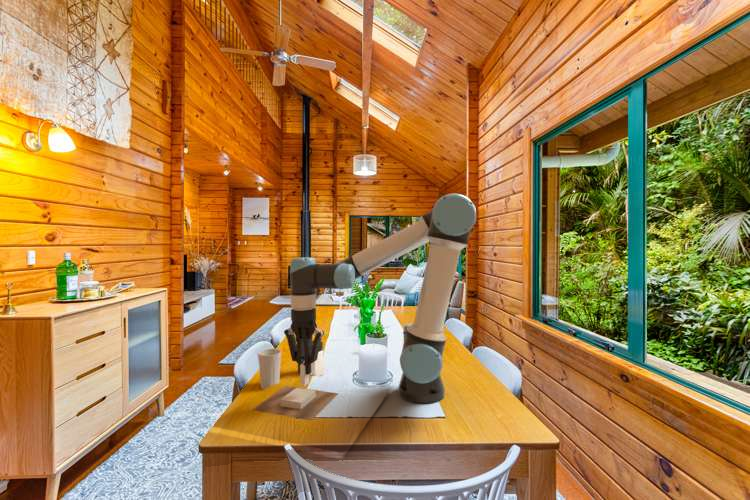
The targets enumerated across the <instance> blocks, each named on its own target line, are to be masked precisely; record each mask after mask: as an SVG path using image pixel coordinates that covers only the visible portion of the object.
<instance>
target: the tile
mask: <svg viewBox="0 0 750 500" xmlns="http://www.w3.org/2000/svg"><path fill="white" fill-rule="evenodd" d="M316 390H317V389H311V390H309V388H304V389H302V387H297V388H295V389H294V390H293V391H291V392H290V393H289V394H287V395H286V396H284V397H283V398H282V399H280V405H281V406H283V407H289V408H295V409H302V408H303V407H304V406H305V405H307V404H308V403H309V402H310V401H311V400H312V399H314V398H315V397H316Z"/></svg>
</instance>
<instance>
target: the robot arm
mask: <svg viewBox="0 0 750 500" xmlns="http://www.w3.org/2000/svg"><path fill="white" fill-rule="evenodd" d="M476 210H477V209H476V206H475V205H474V202H472V201H471V199H470V198H469V197H467V196H466V195H463V194H461V193H449V194H448V193H447V194H445V195H443V196H441V197H439V198H438V200H437V201H436V202H435V203H434V205H433V207H432V209H431V210H430V211H428V212H427V213H425V214H422V215H421V216H420V218H419V220H418V221H416V222H414V223H412V224H410V225H409V226H406V227H405V228H403V229H401V230H399V231H397V232H395V233H393V234H392V235H389V236H387V237H385V238H383V239H382V240H380V241H378V242H376V243H374V244H372V245H370V246H368V247H366V248H365V249H363V250H360V251H359V252H357V253H355V254H353V255H352V256H350V257H347V258H346V259H344V260H342V261H340V262H336V263H321V264H320V263H316V259H315V258H314V257H307V256H306V257H293V258H292V259H291V260H290V266H289V267H290V270H289V274H290V277H289V278H290V279H289V280H290V308H291V310H290V318H291V319H290V320H291V324H290V327H289V328H287V329H285V330H283V334H284V335H285V337H286V339H287V344H288V347H289V353H290V358H291V361H293V362H296V363H297V372H298V374H299V375H300V377H299V378H300V379H299V381H300V387H306V386H308V385H309V383H310V375H309V374H310V373H311V363H313V362H315V361H316V360H317V357H318V352H319V347H320V342H322V338H323V336H324V334H325V331H324V330H320V329H319V328H318V325H317V323H316V320H317V308H315V307H316V306H317V305H316V303H317V299H316V298H317V296H316V295H317V294H316V292H317V291H316V289H317V290H319V289H320V290H321V289H326V290H327V289H330V290H331V289H333V290H345V289H346V290H348V289H349V290H350V289H352V288H353V287H354V286H355V282H356V280H357V279H359V278H360V277H362V276H365V275H366V274H369V273H370V272H372V271H374V270H376V269H378V268H380V267H382V266H384V265H386V264H388V263H390V262H392V261H394V260H396V259H398V258H399V257H402V256H403V255H406V254H407V253H410V252H412V251H414V250H416V249H417V248H419V247H421V246H424V245H426V244H427V243H430V248H429V251H428V256H427V261H426V265H425V269H424V270H425V271H424V275H423V278H422V283H421V288H420V293H419V298H418V301H417V307H416V312H415V315H414V321H413V323H407V324H405V325H404V326H403V331H402V334H403V345H402V350H401V353H400V357H399V365H400V368H401V371H402V374H401V377H400V379H399V383H398V395H399V396H400V397H401V398H402V399H404V400H406V401H408V402H412V403H416V404H417V403H418V404H431V403H432V404H433V403H436V402H440V401H441V400H442V399H443V398H444V397H445V393H446V390H445V386H444V384H445V383H444V382H443V378H442V375H441V373H442V370H443V367H444V366H443V355H444V351H445V347H446V342H447V336H446V335H445V333H444V326H445V322H446V319H447V313H448V308H449V306H450V305H449V303H450V300H451V296H452V295H451V294H452V290H453V287H454V282H455V278H456V277H455V276H456V273H457V270H458V269H457V268H458V264H459V259H460V256H461V255H460V254H461V251H462V250H463V249H464V248H467V246H468V245H469V242H470V241H469V240H470V236H471V232H472V229H473V227H474V225H475V224H476V221H477V211H476ZM313 336H314V339H313ZM312 340H314V342H313V347H312Z"/></svg>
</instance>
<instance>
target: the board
mask: <svg viewBox="0 0 750 500" xmlns="http://www.w3.org/2000/svg"><path fill="white" fill-rule="evenodd" d="M295 388H298V387H296V386H290V385H285V386H284V387H282V388H281V389H278V391H276V392H274V393H273V394H272V395H271V396H269V397H268V398H266V399H264V401H262V402H260V403H259V404H257V405H256V406H254V407H253V408H251V410H252V411H256V412H262V413H268V414H273V415H278V416H279V415H280V416H284V417H291V418H296V419H301V420H307V421H313V420H314V419H315V418H316V417H317V416H318V415H319V413H321V412H322V411H323V410H324V409H325V408H326V406H328V405H329V404H330V403H331V402H332V401H333V400H334V399H335V398H336V397H337V396H338V395H339V393H338V392H337V393H336V392H330V391H325V390H324V391H323V390H318V389H315V390H316V397H315V398H314V399H312V400H311V401H310V402H309V403H308V404H307V405H305V406H304V407H303V408H302V409H295V408H289V407H283V406H281V405H280V399H282V398H283V397H284V396H286V395H287V394H289V393H290V392H291V391H293V390H294V389H295ZM301 388H302V387H301ZM302 389H305V388H302ZM308 389H309V388H308ZM309 390H312V389H311V388H310V389H309Z"/></svg>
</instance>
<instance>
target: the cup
mask: <svg viewBox="0 0 750 500" xmlns="http://www.w3.org/2000/svg"><path fill="white" fill-rule="evenodd" d="M257 358H258V359H257V360H258V365H259V377H260V378H259V379H260V388H261V389H262V390H267V389H268V388H270V387H271V386H272V387H273V386H276V385H278V384H279V383H280V379H281V377H280V376H281V375H280V374H281V361H282V350H281V349H279V348H265V349H261V350H259V351H258V352H257Z"/></svg>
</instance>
